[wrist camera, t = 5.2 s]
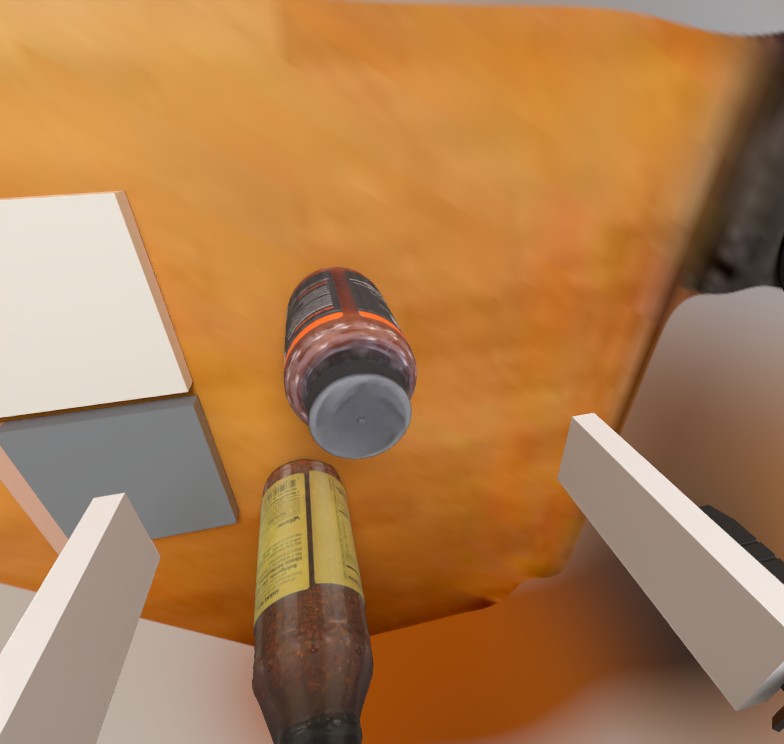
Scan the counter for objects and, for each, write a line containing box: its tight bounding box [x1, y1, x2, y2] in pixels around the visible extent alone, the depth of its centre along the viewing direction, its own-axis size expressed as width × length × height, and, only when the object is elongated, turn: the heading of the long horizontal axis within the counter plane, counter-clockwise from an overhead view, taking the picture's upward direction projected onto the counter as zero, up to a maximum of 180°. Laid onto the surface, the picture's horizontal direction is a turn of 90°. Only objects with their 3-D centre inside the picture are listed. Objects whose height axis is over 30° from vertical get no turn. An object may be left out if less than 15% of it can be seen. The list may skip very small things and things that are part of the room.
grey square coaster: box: [0, 395, 239, 555], centre depth 26 cm, size 12×11×1 cm
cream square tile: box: [0, 191, 193, 418], centre depth 20 cm, size 12×11×1 cm
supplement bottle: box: [284, 267, 417, 459], centre depth 19 cm, size 6×6×11 cm
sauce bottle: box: [252, 459, 373, 744], centre depth 22 cm, size 6×6×20 cm
